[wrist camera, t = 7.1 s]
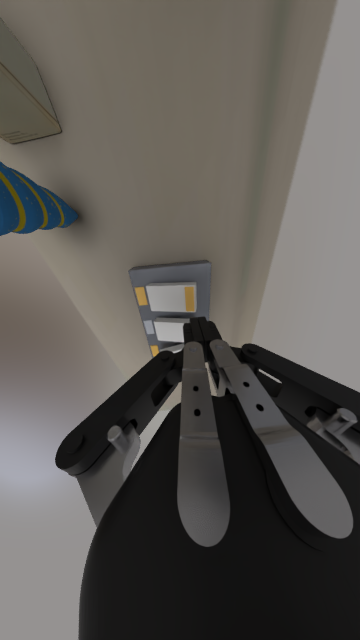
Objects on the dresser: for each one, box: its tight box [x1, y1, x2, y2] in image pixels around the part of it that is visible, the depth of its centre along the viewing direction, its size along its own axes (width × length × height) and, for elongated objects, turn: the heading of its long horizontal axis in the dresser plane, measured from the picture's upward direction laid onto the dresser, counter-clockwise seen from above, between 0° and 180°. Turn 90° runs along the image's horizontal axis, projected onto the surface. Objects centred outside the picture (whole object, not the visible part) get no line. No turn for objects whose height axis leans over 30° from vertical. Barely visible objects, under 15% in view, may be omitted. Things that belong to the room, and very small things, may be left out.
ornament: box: [0, 162, 78, 236], centre depth 11 cm, size 5×5×15 cm
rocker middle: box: [154, 318, 190, 342], centre depth 22 cm, size 4×7×2 cm, turn 95°
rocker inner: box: [146, 282, 197, 312], centre depth 19 cm, size 4×7×2 cm, turn 95°
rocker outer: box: [160, 343, 184, 353], centre depth 25 cm, size 4×7×2 cm, turn 95°
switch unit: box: [128, 260, 211, 358], centre depth 25 cm, size 20×12×4 cm, turn 5°
